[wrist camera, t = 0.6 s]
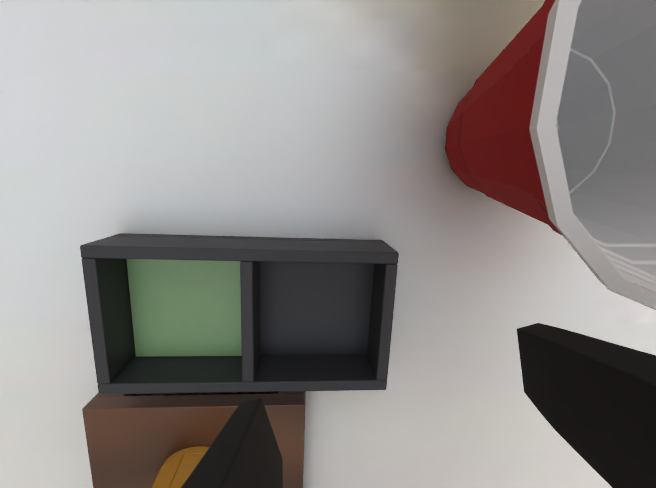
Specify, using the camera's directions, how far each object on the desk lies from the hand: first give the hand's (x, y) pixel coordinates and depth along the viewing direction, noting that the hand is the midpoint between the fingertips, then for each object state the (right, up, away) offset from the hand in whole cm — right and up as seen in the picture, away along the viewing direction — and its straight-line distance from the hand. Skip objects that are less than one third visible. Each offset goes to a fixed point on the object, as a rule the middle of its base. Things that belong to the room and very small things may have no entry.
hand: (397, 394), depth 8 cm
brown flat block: (-9, -9, +12) cm, 18 cm away
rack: (-6, +1, +10) cm, 12 cm away
